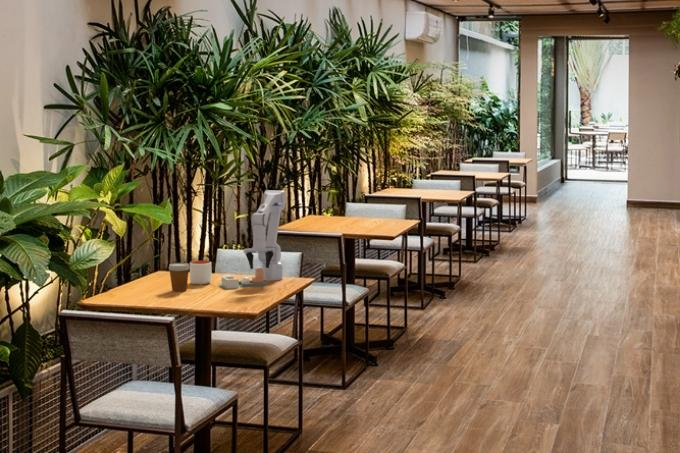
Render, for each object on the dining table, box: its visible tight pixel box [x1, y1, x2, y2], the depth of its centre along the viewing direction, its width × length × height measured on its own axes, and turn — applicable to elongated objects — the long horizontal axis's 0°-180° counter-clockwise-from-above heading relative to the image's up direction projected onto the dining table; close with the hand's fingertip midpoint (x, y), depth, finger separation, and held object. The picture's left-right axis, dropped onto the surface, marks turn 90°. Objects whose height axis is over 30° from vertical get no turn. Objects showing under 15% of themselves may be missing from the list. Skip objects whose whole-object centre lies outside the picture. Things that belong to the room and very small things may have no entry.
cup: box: [189, 260, 212, 285], centre depth 476 cm, size 10×10×10 cm
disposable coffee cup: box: [168, 262, 190, 293], centre depth 457 cm, size 10×10×12 cm
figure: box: [251, 267, 265, 283], centre depth 468 cm, size 4×5×7 cm
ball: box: [240, 276, 250, 284], centre depth 466 cm, size 4×4×4 cm
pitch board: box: [217, 275, 269, 290], centre depth 468 cm, size 21×14×5 cm, turn 113°
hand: (259, 268), depth 468 cm, fingers open, 7 cm apart
